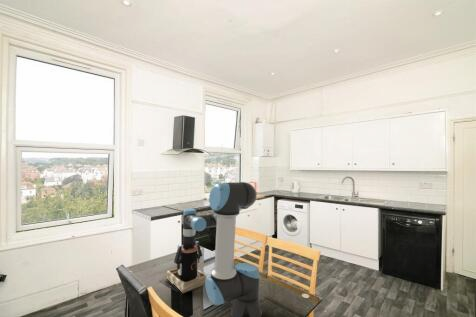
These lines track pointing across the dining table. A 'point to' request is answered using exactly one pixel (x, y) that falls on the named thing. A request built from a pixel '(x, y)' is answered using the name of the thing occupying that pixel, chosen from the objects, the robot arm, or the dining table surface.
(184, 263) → the coffee jar
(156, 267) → the dining table surface
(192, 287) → the walled box
